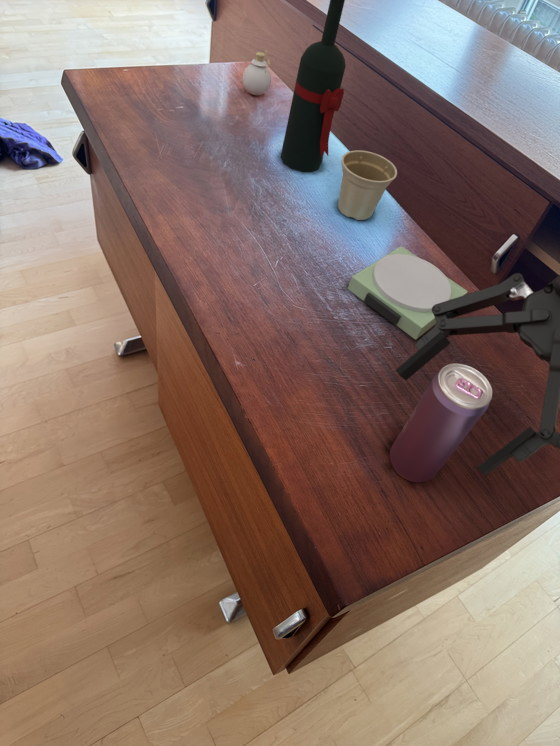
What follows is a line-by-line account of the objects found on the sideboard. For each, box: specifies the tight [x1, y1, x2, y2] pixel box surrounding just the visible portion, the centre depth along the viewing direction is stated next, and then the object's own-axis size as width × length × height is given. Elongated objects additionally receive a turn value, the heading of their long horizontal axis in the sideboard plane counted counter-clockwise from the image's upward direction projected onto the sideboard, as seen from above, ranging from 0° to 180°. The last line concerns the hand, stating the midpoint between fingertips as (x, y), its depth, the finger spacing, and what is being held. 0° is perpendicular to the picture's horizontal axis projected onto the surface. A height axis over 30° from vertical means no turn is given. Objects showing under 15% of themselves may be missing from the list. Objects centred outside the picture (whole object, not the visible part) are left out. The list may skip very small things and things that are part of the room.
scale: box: [347, 245, 469, 340], centre depth 86 cm, size 13×14×3 cm
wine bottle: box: [279, 0, 347, 173], centre depth 95 cm, size 8×10×30 cm
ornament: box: [242, 48, 272, 96], centre depth 117 cm, size 6×7×10 cm
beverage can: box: [389, 362, 494, 483], centre depth 62 cm, size 6×6×15 cm
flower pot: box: [337, 149, 398, 221], centre depth 96 cm, size 9×9×9 cm
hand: (438, 421), depth 61 cm, fingers open, 13 cm apart
